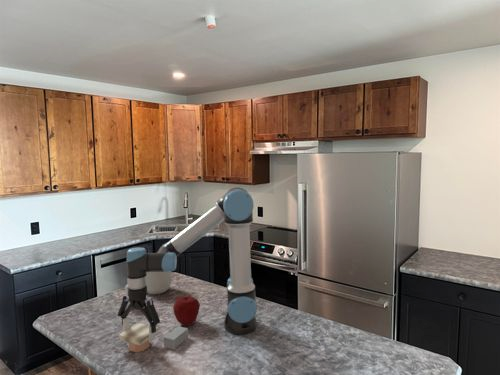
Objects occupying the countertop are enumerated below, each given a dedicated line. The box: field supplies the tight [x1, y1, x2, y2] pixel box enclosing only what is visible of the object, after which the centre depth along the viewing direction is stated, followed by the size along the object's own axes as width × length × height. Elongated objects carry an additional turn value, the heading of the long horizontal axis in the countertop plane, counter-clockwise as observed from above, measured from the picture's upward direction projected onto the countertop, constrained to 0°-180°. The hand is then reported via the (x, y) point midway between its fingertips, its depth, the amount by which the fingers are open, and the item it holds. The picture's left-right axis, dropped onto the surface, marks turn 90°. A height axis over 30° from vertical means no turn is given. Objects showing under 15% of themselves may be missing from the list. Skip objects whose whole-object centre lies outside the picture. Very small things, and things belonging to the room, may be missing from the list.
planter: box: [146, 271, 172, 295], centre depth 197 cm, size 17×17×15 cm
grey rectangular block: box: [163, 326, 189, 350], centre depth 142 cm, size 5×10×4 cm, turn 156°
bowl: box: [128, 339, 151, 353], centre depth 139 cm, size 8×8×4 cm
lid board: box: [118, 322, 159, 345], centre depth 139 cm, size 11×11×2 cm
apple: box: [172, 295, 201, 327], centre depth 158 cm, size 12×12×13 cm
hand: (139, 336), depth 139 cm, fingers open, 13 cm apart
